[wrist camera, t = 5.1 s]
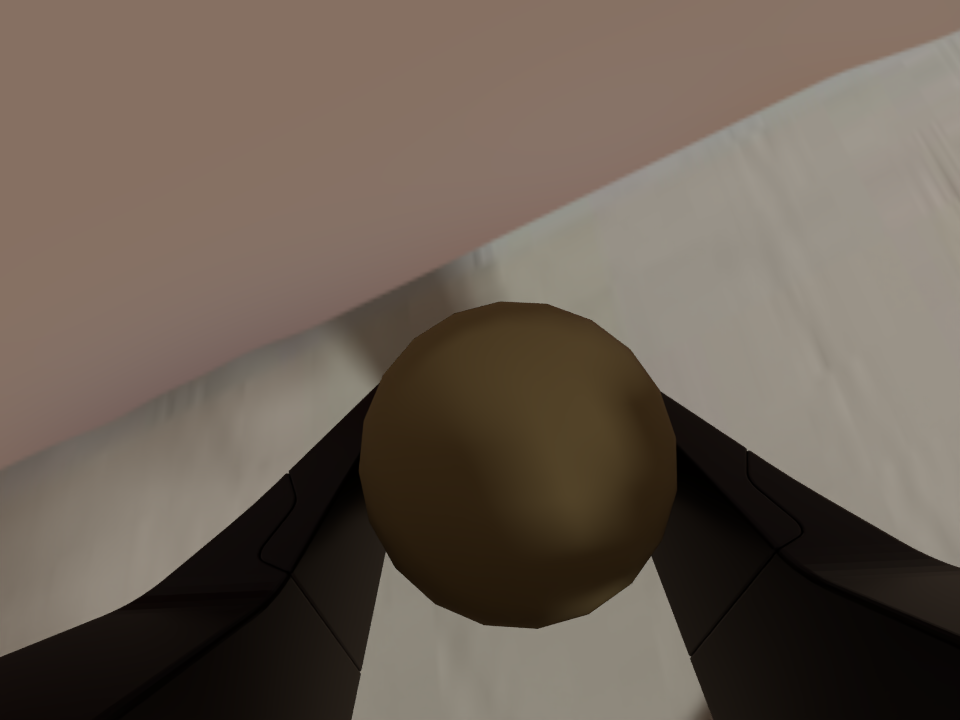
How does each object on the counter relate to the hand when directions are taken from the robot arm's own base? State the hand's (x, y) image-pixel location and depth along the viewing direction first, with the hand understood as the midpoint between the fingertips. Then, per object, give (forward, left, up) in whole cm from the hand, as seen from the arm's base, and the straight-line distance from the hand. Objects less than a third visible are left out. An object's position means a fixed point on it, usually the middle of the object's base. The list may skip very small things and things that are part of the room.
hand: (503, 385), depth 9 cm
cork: (-1, -1, -7) cm, 7 cm away
